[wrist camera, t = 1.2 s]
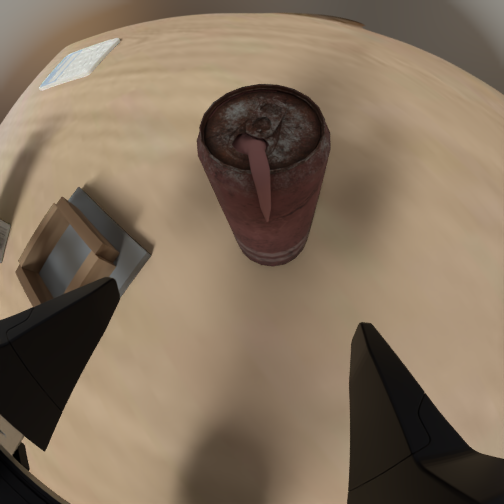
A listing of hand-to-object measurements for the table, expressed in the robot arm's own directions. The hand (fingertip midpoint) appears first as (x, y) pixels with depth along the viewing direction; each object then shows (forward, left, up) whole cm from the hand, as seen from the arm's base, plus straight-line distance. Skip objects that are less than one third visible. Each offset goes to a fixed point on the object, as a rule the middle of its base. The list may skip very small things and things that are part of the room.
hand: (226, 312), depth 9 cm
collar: (-8, +18, -13) cm, 24 cm away
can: (+7, +3, -14) cm, 16 cm away
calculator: (+17, +63, -14) cm, 67 cm away
